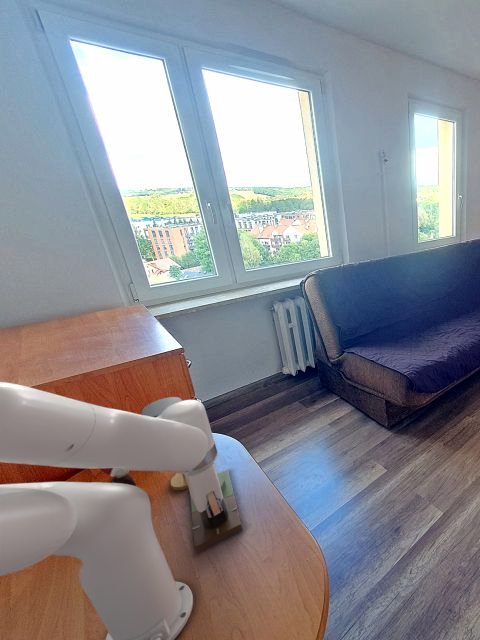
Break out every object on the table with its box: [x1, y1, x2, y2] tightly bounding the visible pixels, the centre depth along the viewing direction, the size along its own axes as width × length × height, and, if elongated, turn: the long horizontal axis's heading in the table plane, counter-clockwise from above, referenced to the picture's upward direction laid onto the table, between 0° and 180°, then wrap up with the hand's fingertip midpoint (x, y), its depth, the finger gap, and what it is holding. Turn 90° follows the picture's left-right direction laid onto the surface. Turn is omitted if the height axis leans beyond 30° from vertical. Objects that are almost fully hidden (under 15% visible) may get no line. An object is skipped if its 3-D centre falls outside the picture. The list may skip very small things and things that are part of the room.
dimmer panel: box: [190, 494, 244, 554], centre depth 78 cm, size 10×9×2 cm
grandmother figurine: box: [109, 468, 138, 487], centre depth 81 cm, size 8×4×13 cm, turn 84°
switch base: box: [189, 469, 236, 514], centre depth 86 cm, size 10×9×3 cm
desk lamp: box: [141, 396, 189, 491], centre depth 86 cm, size 8×8×24 cm
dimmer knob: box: [199, 497, 228, 528], centre depth 77 cm, size 5×5×5 cm
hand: (214, 515), depth 77 cm, fingers closed on dimmer knob, 5 cm apart
